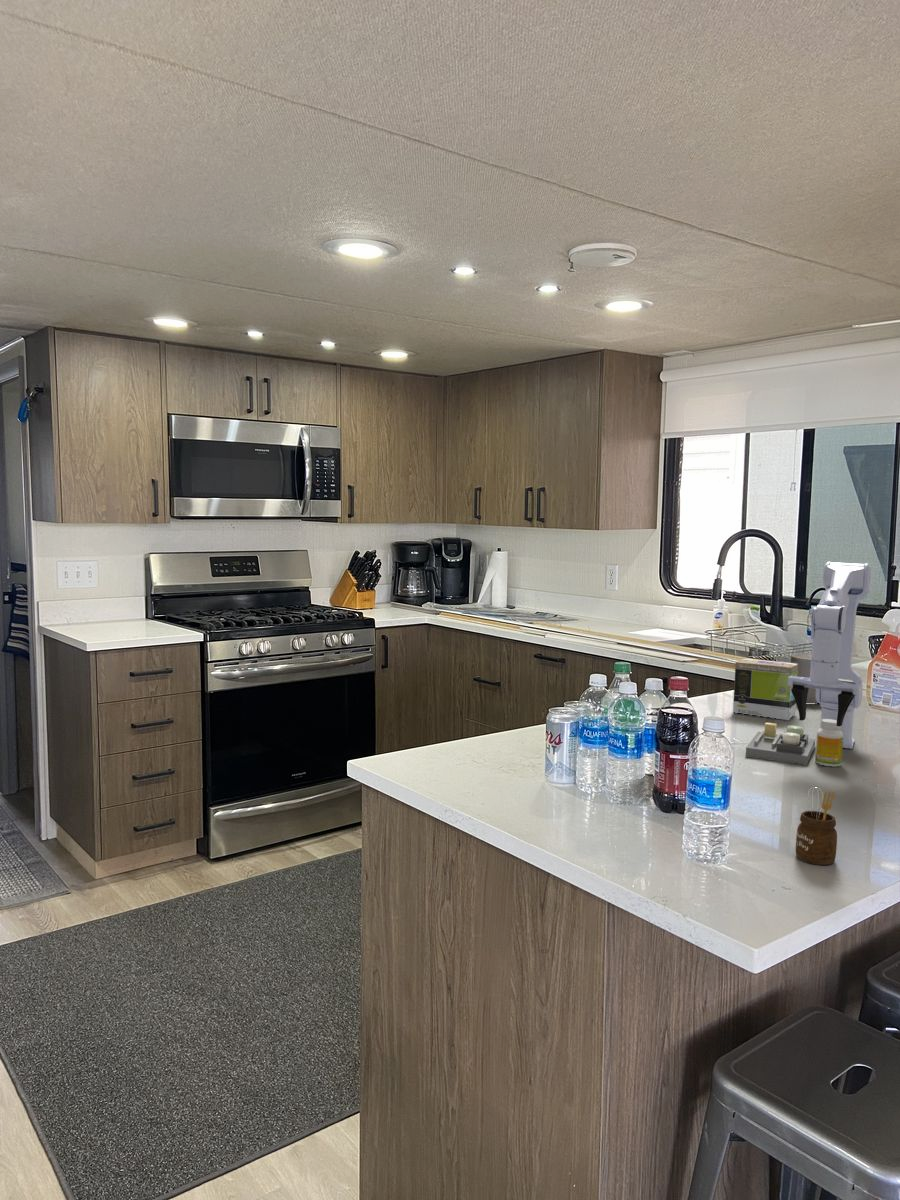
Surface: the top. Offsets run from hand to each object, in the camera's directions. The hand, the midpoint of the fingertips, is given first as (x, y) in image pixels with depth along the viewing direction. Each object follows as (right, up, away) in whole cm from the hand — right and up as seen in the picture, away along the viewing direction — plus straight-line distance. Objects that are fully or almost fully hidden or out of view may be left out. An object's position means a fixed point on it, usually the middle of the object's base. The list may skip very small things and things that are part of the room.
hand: (820, 722), depth 195 cm
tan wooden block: (-5, -6, +17) cm, 18 cm away
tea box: (+6, -5, +54) cm, 54 cm away
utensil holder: (-23, -15, -53) cm, 60 cm away
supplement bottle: (+3, -10, +4) cm, 11 cm away
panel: (-4, -9, +13) cm, 16 cm away
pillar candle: (+26, -4, +74) cm, 78 cm away
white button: (-4, -6, +7) cm, 10 cm away
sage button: (0, -5, +14) cm, 15 cm away
